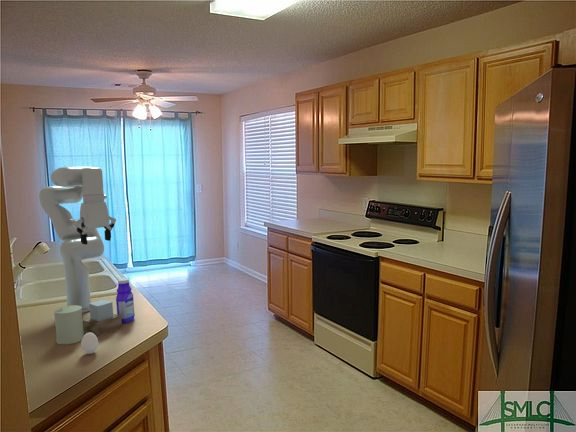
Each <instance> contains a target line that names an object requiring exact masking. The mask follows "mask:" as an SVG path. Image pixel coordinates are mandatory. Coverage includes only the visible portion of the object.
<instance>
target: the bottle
mask: <svg viewBox="0 0 576 432" xmlns="http://www.w3.org/2000/svg"><path fill="white" fill-rule="evenodd" d="M132 290H133V289H132V287H131V284H130V279H129V278H127V277H123V278H118V280H117V289H116V296H115V303H116V315H121V321H122V324H126V323H129V322H131V321H133V320H134V319H135V304H134V293H133V292H132Z"/></svg>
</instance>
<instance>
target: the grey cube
mask: <svg viewBox="0 0 576 432" xmlns="http://www.w3.org/2000/svg"><path fill="white" fill-rule="evenodd" d="M89 306H90V311H89V317H90V319H93V320H96V321H98V322H99V321H103V320H106V319H109V318H112V317H113V314H114V307H113V302H112V301H110V300H107V299H101V300H98V301H94V302H91V303H89Z"/></svg>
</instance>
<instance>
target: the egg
mask: <svg viewBox="0 0 576 432" xmlns="http://www.w3.org/2000/svg"><path fill="white" fill-rule="evenodd" d="M80 344H81V350H82V351H83V352H84V353H85V354H88V355H92V354H94V353H95V352H96V351H97V349H98V347H99V339H98V337H97V335H95V334H93V333H91V332H89V333H85V334H84V337H83V338H82V340H81V342H80Z"/></svg>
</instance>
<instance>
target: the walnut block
mask: <svg viewBox="0 0 576 432" xmlns="http://www.w3.org/2000/svg"><path fill="white" fill-rule="evenodd" d="M82 321H83V333H85V334H86V333H89V332H91V333H93V334H95V335H96V336H99V337H103V336H104V335H107V334H109V333H111V332H114V331H116V330H119V329H120V328H122V327H123V323H122V321H121V315H117V313H116V314H114V313H113V317H112V318H109V319H106V320H103V321H99V322H98V321H96V320H93V319H90V316H89V317H86V318H82Z"/></svg>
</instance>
